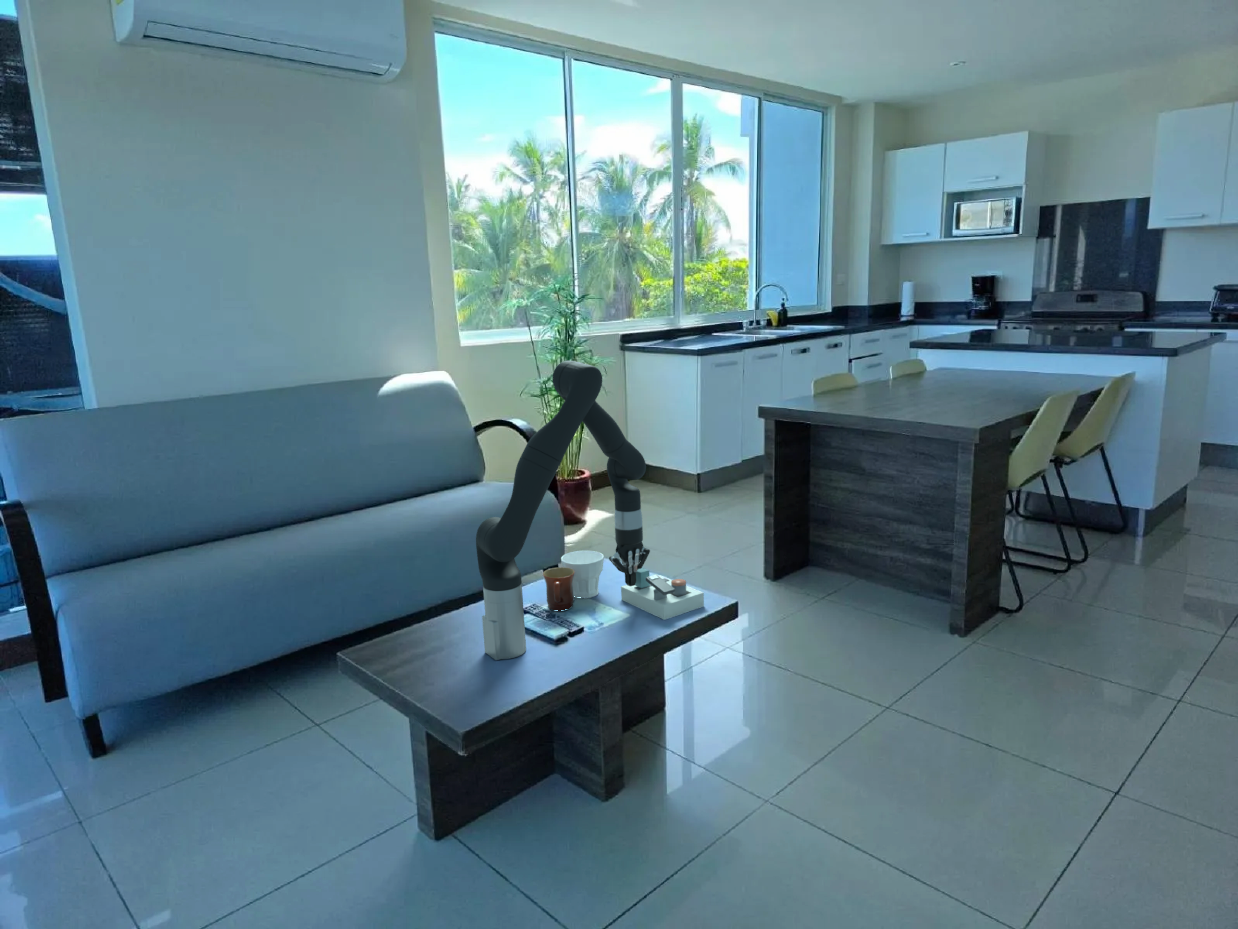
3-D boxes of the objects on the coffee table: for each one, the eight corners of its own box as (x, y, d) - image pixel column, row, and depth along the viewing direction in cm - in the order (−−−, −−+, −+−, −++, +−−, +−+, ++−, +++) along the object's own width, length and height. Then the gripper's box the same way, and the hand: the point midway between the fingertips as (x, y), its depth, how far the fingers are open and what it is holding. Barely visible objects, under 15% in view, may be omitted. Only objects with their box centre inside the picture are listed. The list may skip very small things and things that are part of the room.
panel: (664, 619, 208) (663, 594, 207) (621, 599, 223) (620, 576, 222) (703, 606, 216) (703, 582, 215) (660, 588, 231) (659, 565, 230)
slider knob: (641, 588, 219) (640, 572, 218) (634, 585, 221) (634, 570, 220) (649, 585, 221) (649, 570, 220) (643, 582, 223) (642, 567, 222)
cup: (581, 604, 221) (579, 567, 219) (554, 594, 230) (551, 557, 228) (614, 592, 229) (612, 556, 227) (586, 582, 238) (585, 547, 236)
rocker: (663, 595, 208) (664, 591, 207) (645, 580, 213) (646, 576, 213) (674, 592, 210) (675, 588, 209) (655, 577, 215) (656, 573, 215)
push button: (678, 603, 214) (677, 585, 213) (668, 599, 217) (668, 581, 216) (689, 599, 216) (689, 581, 215) (679, 595, 219) (679, 577, 218)
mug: (546, 602, 224) (544, 567, 222) (577, 601, 223) (575, 566, 221) (541, 619, 212) (539, 582, 210) (574, 618, 212) (572, 581, 210)
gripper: (617, 532, 208) (619, 594, 212) (656, 522, 216) (658, 583, 219) (600, 526, 214) (603, 587, 218) (639, 517, 222) (641, 576, 225)
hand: (630, 585), depth 218 cm, fingers closed
